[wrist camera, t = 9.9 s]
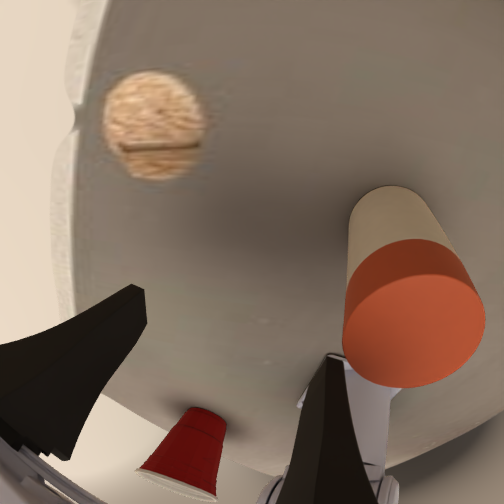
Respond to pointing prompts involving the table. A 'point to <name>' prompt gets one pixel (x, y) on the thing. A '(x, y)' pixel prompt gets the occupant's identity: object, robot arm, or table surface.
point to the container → (406, 294)
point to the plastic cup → (188, 456)
